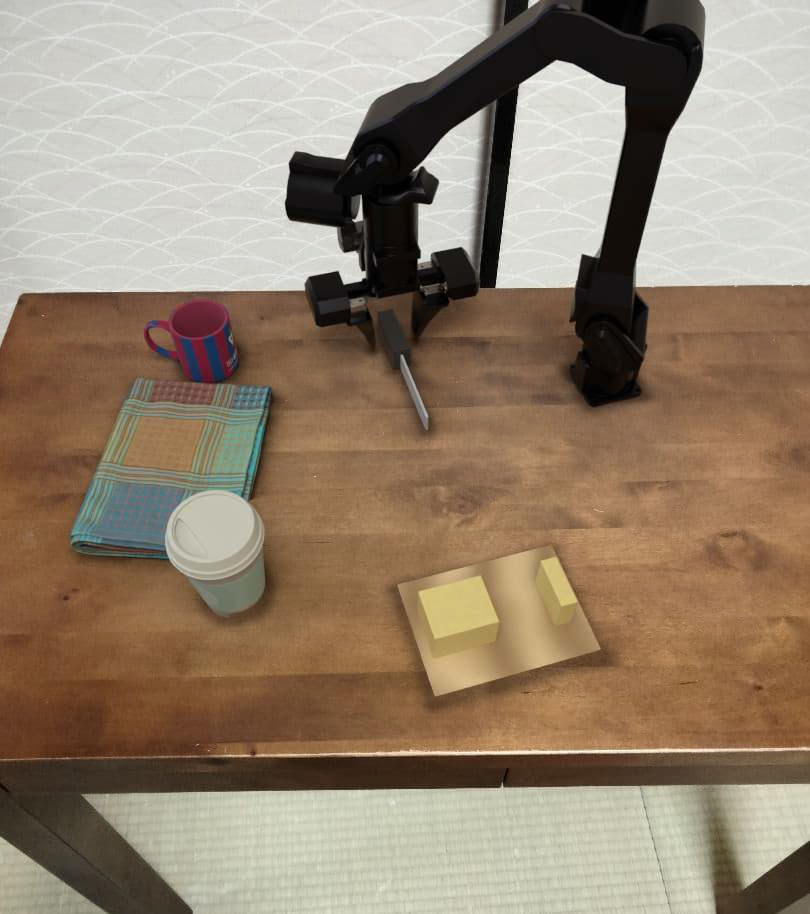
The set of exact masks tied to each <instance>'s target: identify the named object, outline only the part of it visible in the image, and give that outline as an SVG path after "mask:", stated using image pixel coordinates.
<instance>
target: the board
mask: <svg viewBox="0 0 810 914" xmlns="http://www.w3.org/2000/svg"><path fill="white" fill-rule="evenodd" d="M553 557H557V559H558V561H559V563H560V565H561V567H562V569H563V572H564V574H565V576H566V578H567V580H568V582H569V584H570V586H571V589H572V591H573V593H574V595H575V597H576V599H577V601H578V603H577V605H576V608H575V611H574V614H573V617H572V620H571V622H570V623H567V624H564V625H560V626H556V627H555V626H554V624H553V622H552V620H551V617H550V615H549V613H548V611H547V609H546V606H545V604H544V602H543V600H542V597H541V595H540V593H539V591H538V588H537V586H536V584H535V581H536V577H537V573H538V569H539V565H540V561H542V560H546V559H549V558H553ZM480 575H481V577H482V580H483V582H484V585H485V587H486V590H487V592H488V594H489V597H490V599H491V602H492V604H493V607H494V609H495V612H496V614H497V617H498V619H499V626H498V631H497V636H496V641H495V642H492V643H488V644H485V645H481V646H478V647H474V648H470V649H467V650H463V651H459V652H456V653H452V654H448V655H445V656H441V657H438V658H433V655H432V653H431V650H430V647H429V644H428V641H427V638H426V635H425V632H424V629H423V627H422V624H421V621H420V618H419V615H418V592H419V591H422V590H426V589H430V588H434V587H438V586H441V585H445V584H449V583H453V582H457V581H460V580H464V579H468V578H472V577H476V576H480ZM396 586H397V588H398V589H397V590H398V592H399V594H400V597H401V601H402V604H403V607H404V609H405V612H406V615H407V619H408V622H409V624H410V627H411V631H412V633H413V636H414V638H415V642H416V645H417V648H418V650H419V654H420V658H421V660H422V662H423V666H424V669H425V672H426V674H427V677H428V680H429V683H430V686H431V689H432V692H433V695H434V697H439V696H442V695H447V694H449V693H453V692H456V691H460V690H463V689H468V688H470V687H474V686H477V685H482V684H484V683H489V682H491V681H495V680H499V679H503V678H506V677H510V676H513V675H516V674H519V673H524V672H527V671H531V670H535V669H538V668H542V667H544V666H549V665H552V664H556V663H559V662H563V661H566V660H570V659H573V658H577V657H580V656H584V655H588V654H590V653H594V652H599V651H601V650H602V649H601V645H600V644H599V642H598V639H597V637H596V635H595V633H594V631H593V629H592V627H591V625H590V623H589V620H588V618H587V616H586V614H585V612H584V610H583V607H582V606H581V603H580V602H579V599H578V597H577V595H576V593H575V590H574V589H573V587H572V584H571V582H570V580H569V578H568V576H567V574H566V572H565V570H564V568H563V566H562V563H561V561H560V559H559V557H558V555H557V552H556V551H555V548H554V547H553V545H552V544H548V545H545V546H541V547H537V548H533V549H529V550H525V551H521V552H518V553H513V554H510V555H506V556H501V557H498V558H494V559H491V560H487V561H483V562H479V563H475V564H471V565H467V566H464V567H459V568H455V569H451V570H448V571H444V572H440V573H436V574H433V575H429V576H425V577H420V578H417V579H413V580H409V581H405V582H401V583H398V584H397V585H396Z"/></svg>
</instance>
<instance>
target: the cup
mask: <svg viewBox="0 0 810 914" xmlns="http://www.w3.org/2000/svg"><path fill="white" fill-rule="evenodd" d="M153 328H159V329H163V330H165V331H167V332H168V333H170V335H171V338H172V341H173V345H174V348H175V350H170V349H166V348H164V347H162V346H159V345H158V344H157V343H156V342H155V341H154V340H153V338H152V337H151V335H150V329H153ZM143 337H144V340H145V343H146V344H147V346H148V348H149V349H151V350H152V351H153V352H154V353H156V354H158V355H160V356H162V357H165V358H167V359H173V360H177V361H179V363H180V366H181V369H182V371H183V374H184V375H185V376H186V377H187V378H188V379H190V380H191V381H192V382H201V383H210V384H213V383H218V382H222V381H224V380H226V379H227V378H229V377H230V376H232V375H233V374H234V372H235V371H237V368H238V366H239V362H240V358H239V353H238V350H237V346H236V341H235V337H234V333H233V328H232V323H231V319H230V316H229V312H228V310H227V308H226V307H225V306H224V305H223V304H221V302H218V301H216V300H213V299H207V298H206V299H205V298H201V299H192V300H189V301H186V302H184V303H181V304H180V305H178V306H177V307H176V308H174V309H173V310H172V312H171V313H170V315H169V317H168V321H167V320H161V319H160V320H159V319H154V320H150V321H148V322H147V323H146V324H145V326H144V328H143Z"/></svg>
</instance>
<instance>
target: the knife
mask: <svg viewBox="0 0 810 914" xmlns="http://www.w3.org/2000/svg"><path fill="white" fill-rule="evenodd" d="M396 315H397V314H396V313H395V311H394V308H389V309H385V310H380V311H377V312H376V319H377V332H378V335H379V337H380V340H381V342H382V345H383V347H384V350H385V353H386V355H387V357H388V360H389V362H390V365H391V367H392V369H393V371H396V370H400V371H401V373H402V376H403V378H404V381H405V383H406V386H407V388H408V391H409V393H410V396H411V398H412V401H413V403H414V405H415V408H416V410H417V413H418V415H419V417H420V421H421V422H422V425H423V428H424V430H425V431H428V430H429V414H428V412H427V410H426V407H425V405H424V403H423V402H424V401H423V400H422V398H421V396H420V393H419V390H418V388H417V385H416V383H415V380H414V378H413V376H412V374H411V371H410V369H409V367H410V365H411V364H410V362H411V361H410V356H411V355H410V351H411V350H410V348H411V347H410V346H409V344H408V341H407V338H406V336H405V334H404V332H403V329H402V326H401V324H400V322H399V319H398V318H397V316H396Z"/></svg>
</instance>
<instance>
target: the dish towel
mask: <svg viewBox="0 0 810 914" xmlns="http://www.w3.org/2000/svg"><path fill="white" fill-rule="evenodd" d="M273 397H274V393H273V388H272V386H271V385H254V384H253V385H248V384H247V385H246V384H232V383H218V382H214V383H201V382H196V381H184V380H180V381H178V380H168V379H165V380H161V379H149V378H144V377H139V376H138V377H137V378H136V379H134V380H133V381H132V382H131V385H130V387H129V389H128V392H127V394H126V398H125V399H124V401H123V404H122V406H121V408H120V410H119V413H118V414H117V418H116V419H115V423H114V425H113V427H112V430H111V433H110V435H109V437H108V440H107V442H106V445H105V447H104V449H103V452H102V455H101V458H100V460H99V462H98V464H97V467H96V470H95V473H94V475H93V478H92V480H91V482H90V485H89V487H88V489H87V492H86V494H85V496H84V499H83V502H82V505H81V507H80V508H79V512H78V514H77V516H76V518H75V519H74V523H73V526H72V529H71V531H70V534H69V537H70V538H69V539H70V544H69V546H70V548H71V549H72V550H74V551H75V552H77V553H81V554H84V555H87V556H88V555H89V556H104V557H130V558H143V559H145V558H147V559H148V558H150V559H164V560H170V559H169V557H168V554H167V551H166V544H165V535H166V530H167V525H168V522H169V519H170V517H171V515H172V513H173V511H174V510H175V509H176V508H177V507H178V505H180V504H181V503H182V502H183V501H184V500H186V499H187V498H189V497H191V496H193V495H195V494H197V493H200V492H204V491H209V490H223V491H228V492H232V493H234V494H237V495H238V496H240V497H242V498H243V499H244V500H245V501H247V502H248V503H249V501H251V496H252V493H253V488H254V484H255V480H256V476H257V471H258V467H259V461H260V457H261V450H262V444H263V440H264V435H265V430H266V426H267V425H266V424H267V420H268V417H269V414H270V413H269V412H270V408H271V405H272V401H273Z"/></svg>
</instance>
